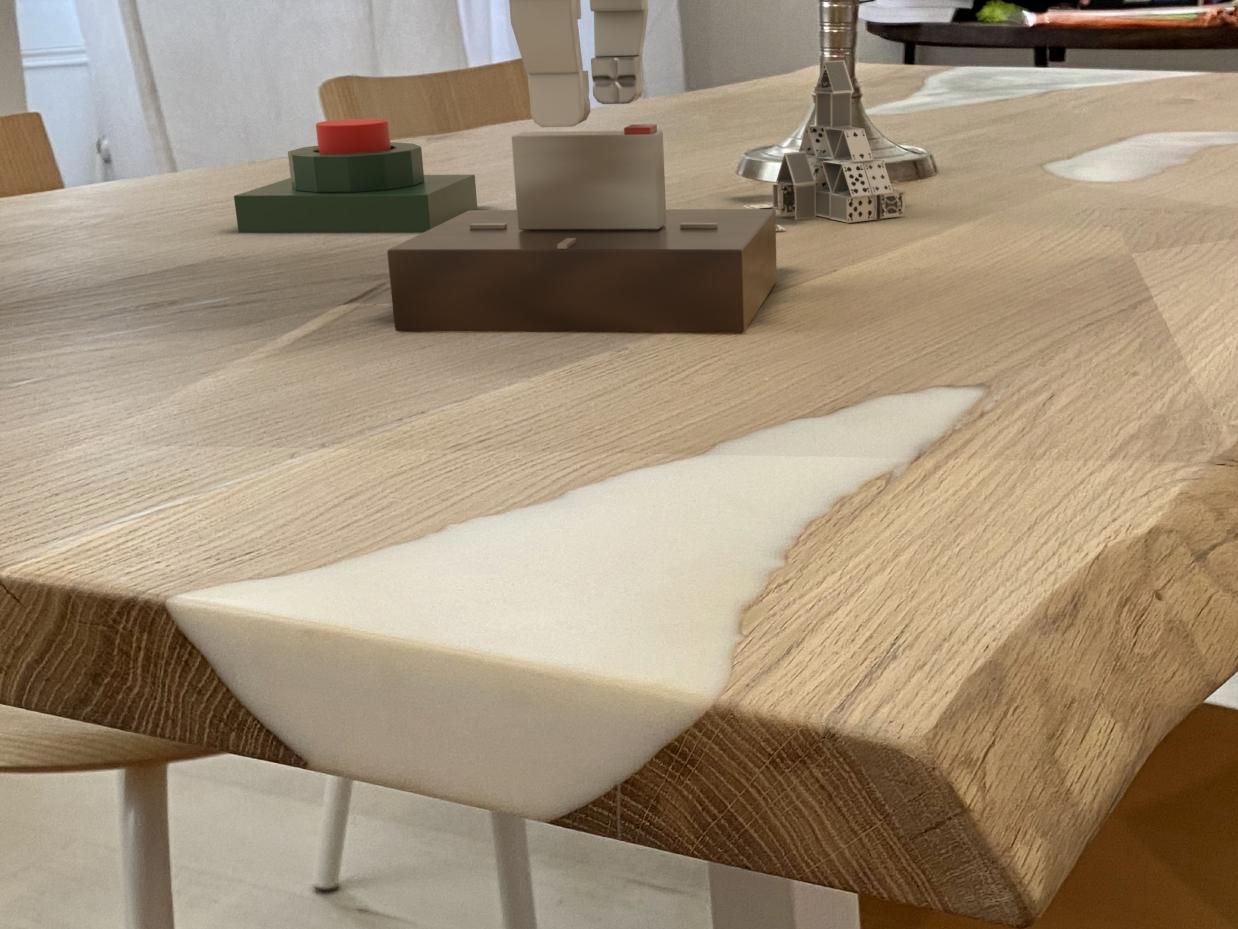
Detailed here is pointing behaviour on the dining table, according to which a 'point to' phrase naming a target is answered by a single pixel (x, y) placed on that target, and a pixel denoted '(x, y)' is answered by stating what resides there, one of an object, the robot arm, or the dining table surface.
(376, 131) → the button
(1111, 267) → the dining table surface
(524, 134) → the beige block
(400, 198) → the button block
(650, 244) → the brown slotted block
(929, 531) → the dining table surface
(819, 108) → the house of cards
